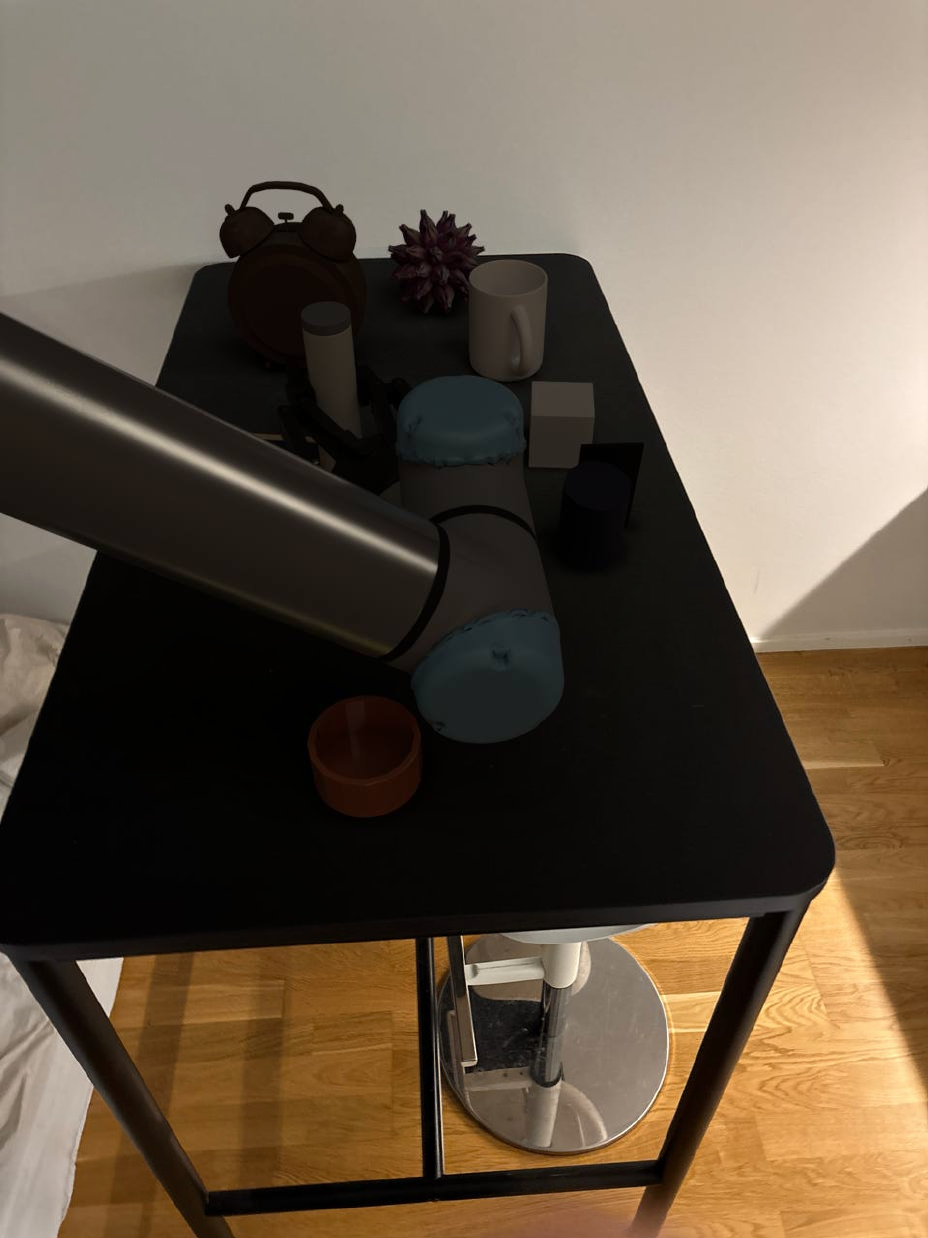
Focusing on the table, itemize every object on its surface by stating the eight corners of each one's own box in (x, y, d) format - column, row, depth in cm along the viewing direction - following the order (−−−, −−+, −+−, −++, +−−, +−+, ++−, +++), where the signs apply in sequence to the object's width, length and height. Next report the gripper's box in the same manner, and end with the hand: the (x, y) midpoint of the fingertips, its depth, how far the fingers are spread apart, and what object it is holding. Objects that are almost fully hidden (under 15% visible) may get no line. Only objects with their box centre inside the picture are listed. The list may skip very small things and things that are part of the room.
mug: (562, 396, 106) (568, 307, 98) (487, 406, 104) (488, 317, 97) (531, 341, 114) (535, 255, 106) (461, 350, 112) (461, 263, 105)
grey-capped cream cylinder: (320, 500, 91) (295, 323, 78) (329, 474, 94) (306, 299, 81) (362, 503, 91) (344, 326, 78) (370, 477, 94) (354, 301, 81)
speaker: (567, 510, 92) (579, 424, 83) (628, 525, 90) (646, 439, 82) (546, 568, 87) (556, 484, 79) (610, 584, 86) (627, 500, 78)
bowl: (303, 812, 69) (296, 779, 66) (326, 725, 74) (321, 691, 71) (413, 823, 68) (411, 789, 65) (429, 734, 74) (427, 699, 71)
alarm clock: (376, 348, 113) (362, 169, 99) (365, 381, 108) (349, 198, 94) (252, 342, 114) (221, 164, 100) (236, 375, 109) (200, 193, 95)
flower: (396, 299, 124) (487, 273, 124) (404, 343, 116) (502, 316, 115) (370, 209, 116) (467, 182, 116) (377, 250, 108) (482, 220, 107)
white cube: (528, 467, 97) (530, 415, 93) (529, 432, 101) (531, 381, 97) (589, 468, 96) (594, 416, 92) (588, 433, 101) (592, 382, 96)
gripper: (306, 581, 74) (229, 419, 89) (511, 521, 79) (405, 378, 94) (293, 502, 68) (214, 345, 84) (514, 444, 73) (401, 304, 88)
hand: (315, 362), depth 89 cm, fingers closed on grey-capped cream cylinder, 4 cm apart
